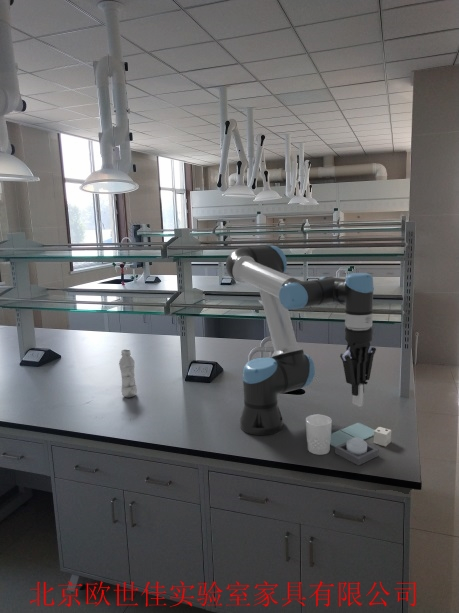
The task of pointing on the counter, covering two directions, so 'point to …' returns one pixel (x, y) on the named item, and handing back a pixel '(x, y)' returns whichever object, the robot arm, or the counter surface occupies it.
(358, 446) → the dome
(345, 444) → the frame
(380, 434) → the die
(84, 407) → the counter surface
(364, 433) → the tile
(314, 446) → the white cup
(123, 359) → the plastic bottle
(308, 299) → the robot arm
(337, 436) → the tile
